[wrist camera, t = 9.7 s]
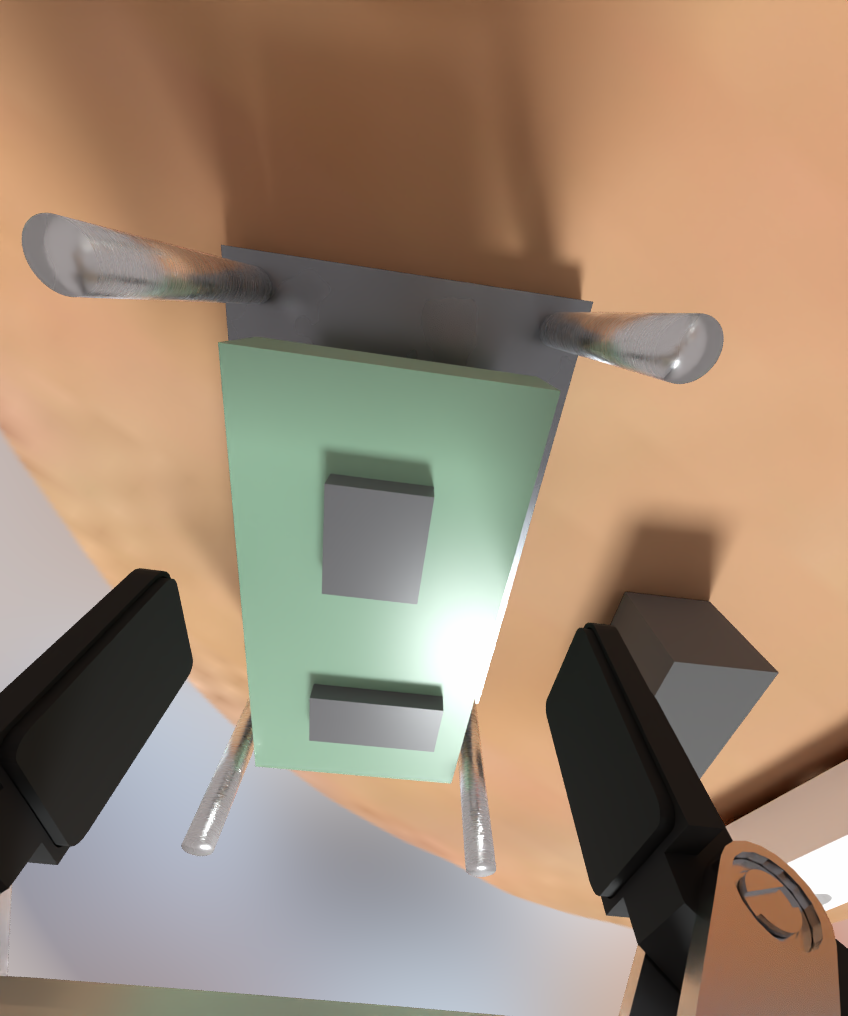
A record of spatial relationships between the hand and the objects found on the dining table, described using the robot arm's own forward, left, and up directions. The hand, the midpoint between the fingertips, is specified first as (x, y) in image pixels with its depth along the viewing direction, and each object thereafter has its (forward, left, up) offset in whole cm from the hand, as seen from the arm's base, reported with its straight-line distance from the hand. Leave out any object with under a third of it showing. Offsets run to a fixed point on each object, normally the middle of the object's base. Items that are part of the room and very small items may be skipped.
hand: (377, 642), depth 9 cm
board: (+1, 0, -3) cm, 4 cm away
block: (+7, +13, -8) cm, 16 cm away
